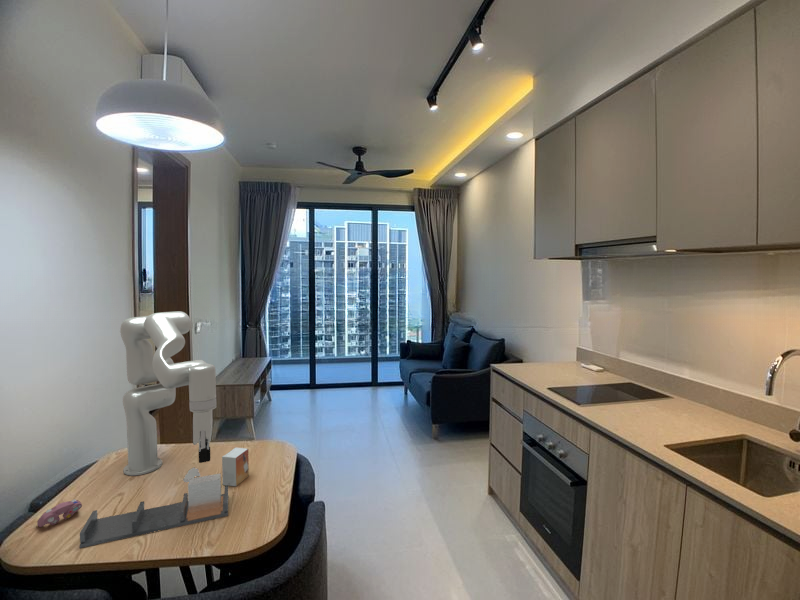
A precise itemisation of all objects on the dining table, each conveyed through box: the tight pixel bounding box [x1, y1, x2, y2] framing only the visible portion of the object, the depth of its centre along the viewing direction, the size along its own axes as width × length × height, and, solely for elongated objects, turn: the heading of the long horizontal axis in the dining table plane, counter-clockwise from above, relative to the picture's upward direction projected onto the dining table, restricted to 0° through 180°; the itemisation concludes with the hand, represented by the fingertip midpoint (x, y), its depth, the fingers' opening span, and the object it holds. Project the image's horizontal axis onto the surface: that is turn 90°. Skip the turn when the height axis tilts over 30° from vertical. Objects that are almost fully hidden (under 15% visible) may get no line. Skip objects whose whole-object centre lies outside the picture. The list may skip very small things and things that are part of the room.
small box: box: [221, 447, 250, 487], centre depth 141 cm, size 8×6×10 cm
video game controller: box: [36, 498, 83, 528], centre depth 118 cm, size 10×5×7 cm, turn 150°
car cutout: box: [182, 467, 201, 483], centre depth 139 cm, size 15×7×4 cm, turn 162°
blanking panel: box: [187, 473, 222, 513], centre depth 123 cm, size 4×9×9 cm, turn 113°
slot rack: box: [79, 485, 229, 549], centre depth 119 cm, size 12×37×4 cm, turn 113°
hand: (204, 461), depth 123 cm, fingers closed
